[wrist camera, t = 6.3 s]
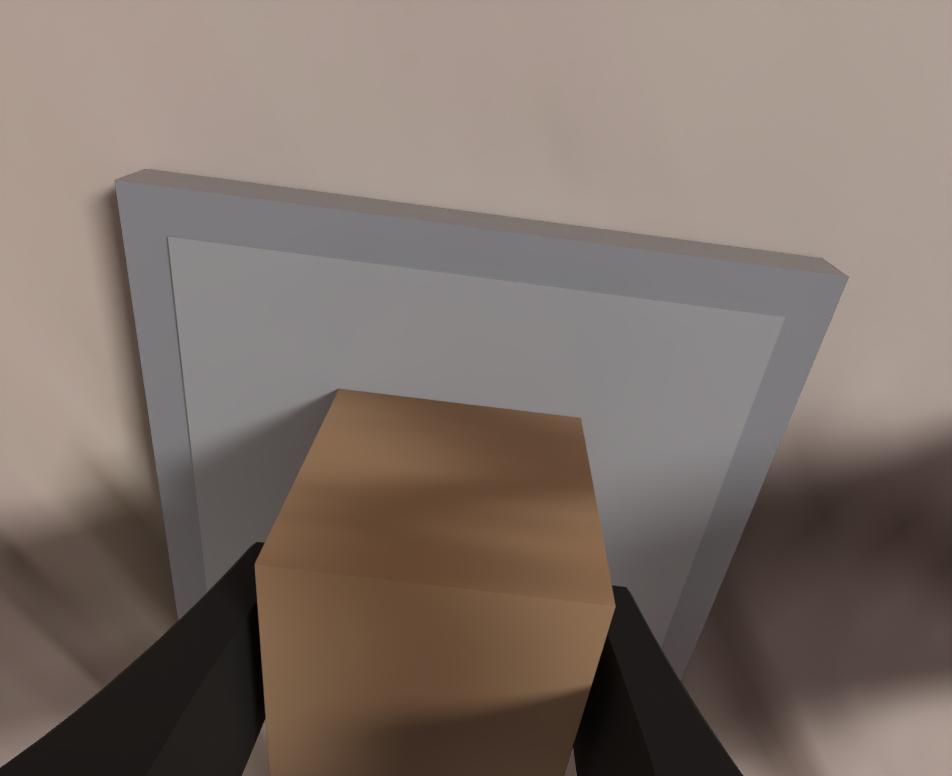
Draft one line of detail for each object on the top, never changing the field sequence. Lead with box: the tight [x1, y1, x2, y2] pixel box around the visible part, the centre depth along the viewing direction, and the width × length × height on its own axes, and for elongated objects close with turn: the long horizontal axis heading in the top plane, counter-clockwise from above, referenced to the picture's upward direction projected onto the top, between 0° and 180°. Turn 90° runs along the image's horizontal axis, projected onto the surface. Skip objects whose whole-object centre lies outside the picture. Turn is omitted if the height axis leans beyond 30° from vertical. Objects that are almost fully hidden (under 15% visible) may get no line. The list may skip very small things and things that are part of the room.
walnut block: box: [255, 389, 616, 776], centre depth 11 cm, size 4×4×4 cm
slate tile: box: [115, 169, 849, 681], centre depth 14 cm, size 12×12×1 cm
